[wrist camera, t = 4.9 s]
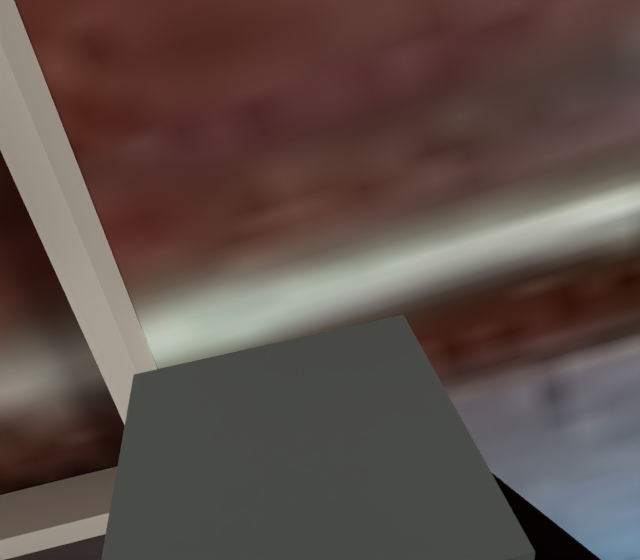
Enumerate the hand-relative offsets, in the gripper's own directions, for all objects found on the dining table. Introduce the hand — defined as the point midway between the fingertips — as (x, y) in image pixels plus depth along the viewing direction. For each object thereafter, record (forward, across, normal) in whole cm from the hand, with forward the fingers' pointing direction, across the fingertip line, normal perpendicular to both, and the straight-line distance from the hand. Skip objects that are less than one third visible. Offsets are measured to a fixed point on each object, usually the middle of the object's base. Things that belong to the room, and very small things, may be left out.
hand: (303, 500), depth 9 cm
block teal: (+1, 0, 0) cm, 1 cm away
